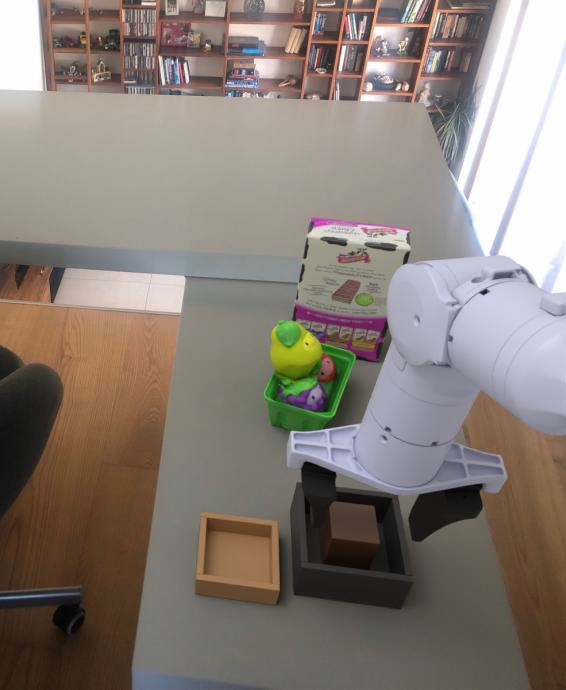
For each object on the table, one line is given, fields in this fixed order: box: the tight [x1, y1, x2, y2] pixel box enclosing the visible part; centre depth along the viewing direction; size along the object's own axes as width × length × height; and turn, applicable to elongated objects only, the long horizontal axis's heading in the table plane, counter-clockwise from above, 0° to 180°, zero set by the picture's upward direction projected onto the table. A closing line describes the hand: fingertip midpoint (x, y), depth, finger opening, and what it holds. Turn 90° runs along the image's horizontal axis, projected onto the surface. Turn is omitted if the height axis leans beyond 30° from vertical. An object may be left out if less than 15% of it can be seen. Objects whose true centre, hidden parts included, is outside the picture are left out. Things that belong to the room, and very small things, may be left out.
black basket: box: [289, 481, 415, 610], centre depth 63 cm, size 9×9×4 cm
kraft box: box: [193, 511, 281, 606], centre depth 64 cm, size 7×7×2 cm
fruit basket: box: [263, 319, 357, 432], centre depth 76 cm, size 11×9×11 cm
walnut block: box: [319, 501, 380, 570], centre depth 63 cm, size 4×4×5 cm
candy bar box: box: [290, 216, 412, 362], centre depth 83 cm, size 11×5×16 cm, turn 73°
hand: (364, 523), depth 55 cm, fingers open, 7 cm apart
